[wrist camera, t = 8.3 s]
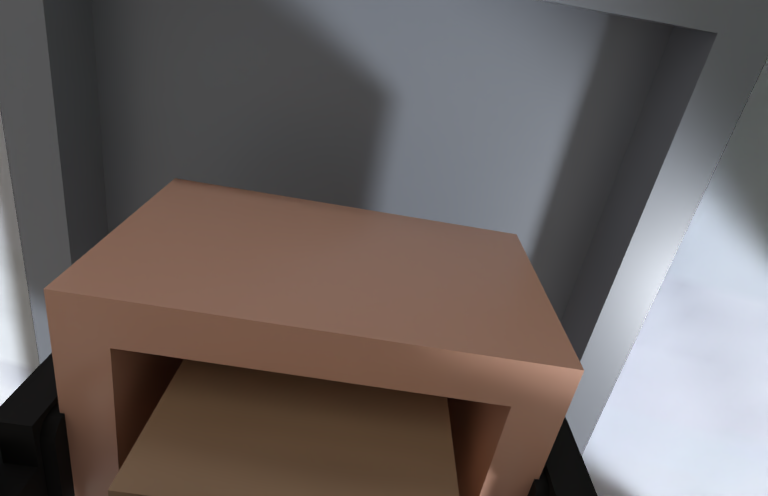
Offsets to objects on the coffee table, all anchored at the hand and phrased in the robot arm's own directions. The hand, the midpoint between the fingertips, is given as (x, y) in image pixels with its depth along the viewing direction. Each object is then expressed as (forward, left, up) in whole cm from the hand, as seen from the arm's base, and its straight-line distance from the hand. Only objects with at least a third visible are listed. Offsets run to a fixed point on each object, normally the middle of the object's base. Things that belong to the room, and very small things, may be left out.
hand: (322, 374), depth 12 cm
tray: (0, 0, -5) cm, 5 cm away
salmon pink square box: (0, 0, -1) cm, 1 cm away
